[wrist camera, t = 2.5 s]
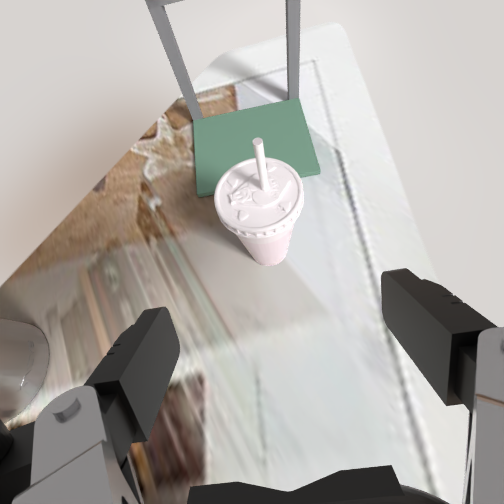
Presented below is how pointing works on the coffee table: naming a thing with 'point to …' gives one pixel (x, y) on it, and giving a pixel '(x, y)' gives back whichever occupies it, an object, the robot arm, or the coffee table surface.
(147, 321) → the robot arm
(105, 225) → the coffee table surface
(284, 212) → the smoothie
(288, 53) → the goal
